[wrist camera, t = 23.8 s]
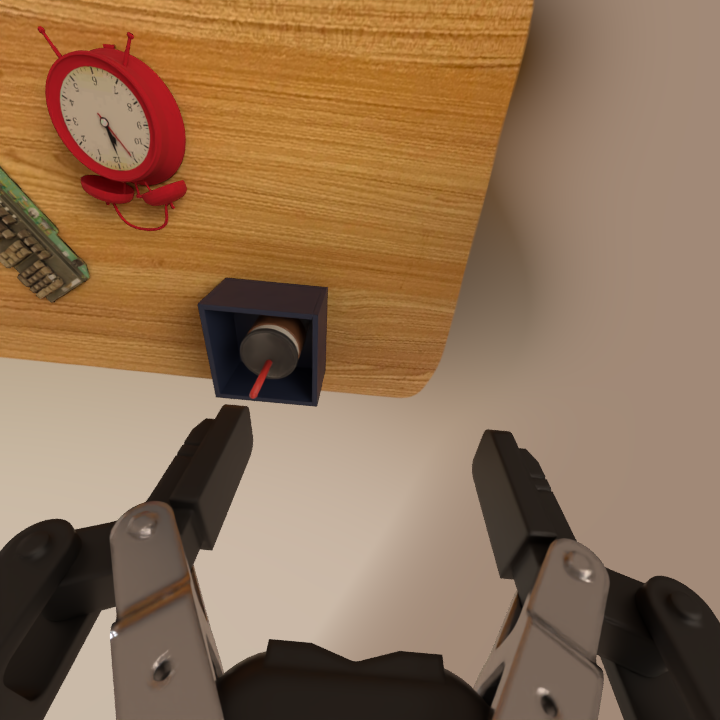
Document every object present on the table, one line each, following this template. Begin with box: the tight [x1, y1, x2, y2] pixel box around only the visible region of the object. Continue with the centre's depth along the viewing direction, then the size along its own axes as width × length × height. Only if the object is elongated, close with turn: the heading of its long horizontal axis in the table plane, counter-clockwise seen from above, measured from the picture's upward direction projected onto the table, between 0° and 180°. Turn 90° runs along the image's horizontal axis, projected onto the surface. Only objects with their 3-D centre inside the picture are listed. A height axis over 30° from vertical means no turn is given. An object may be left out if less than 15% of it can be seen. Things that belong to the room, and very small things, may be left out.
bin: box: [198, 278, 328, 406], centre depth 41 cm, size 12×12×8 cm
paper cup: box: [240, 315, 309, 399], centre depth 37 cm, size 6×6×14 cm
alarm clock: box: [38, 26, 187, 231], centre depth 31 cm, size 10×6×15 cm
